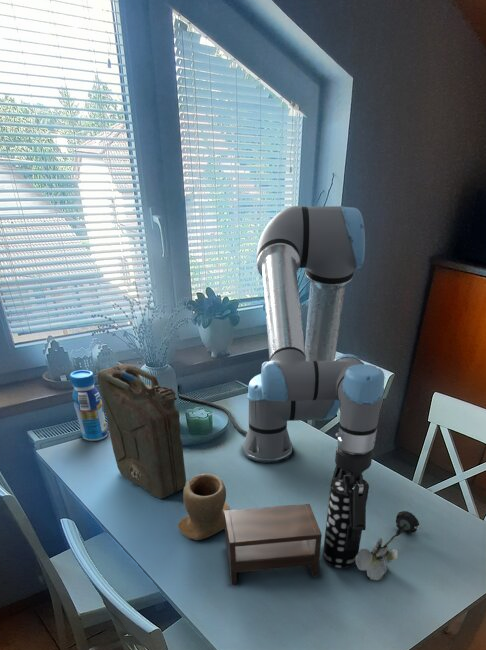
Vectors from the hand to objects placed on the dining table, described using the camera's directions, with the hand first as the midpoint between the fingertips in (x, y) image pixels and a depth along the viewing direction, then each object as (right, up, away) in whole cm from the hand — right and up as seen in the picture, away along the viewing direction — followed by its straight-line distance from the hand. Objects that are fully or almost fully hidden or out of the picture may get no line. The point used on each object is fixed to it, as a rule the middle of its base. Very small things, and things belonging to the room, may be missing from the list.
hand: (343, 532), depth 120 cm
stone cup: (-32, +2, +13) cm, 35 cm away
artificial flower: (+12, -5, +6) cm, 14 cm away
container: (-51, +17, +29) cm, 61 cm away
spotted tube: (0, -6, +5) cm, 8 cm away
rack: (-17, -7, +3) cm, 19 cm away
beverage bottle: (-74, +36, +49) cm, 96 cm away
